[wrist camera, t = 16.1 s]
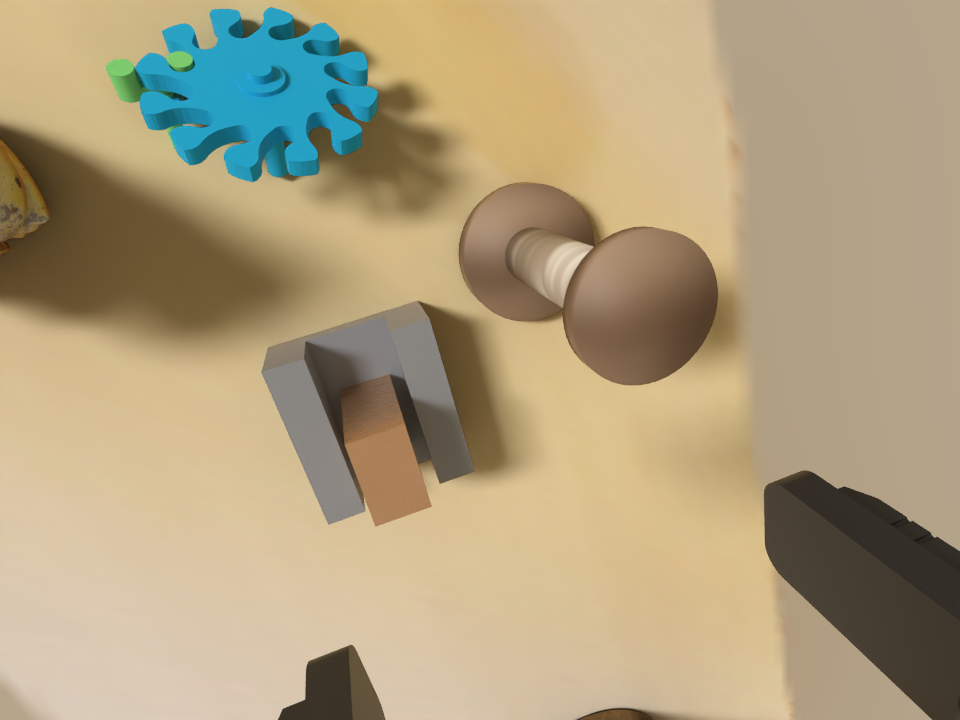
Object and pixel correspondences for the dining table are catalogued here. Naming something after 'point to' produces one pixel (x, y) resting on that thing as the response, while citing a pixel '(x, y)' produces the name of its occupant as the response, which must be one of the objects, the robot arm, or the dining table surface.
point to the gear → (251, 93)
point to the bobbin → (591, 281)
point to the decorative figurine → (18, 200)
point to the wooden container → (617, 715)
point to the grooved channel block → (352, 360)
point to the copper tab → (382, 450)
